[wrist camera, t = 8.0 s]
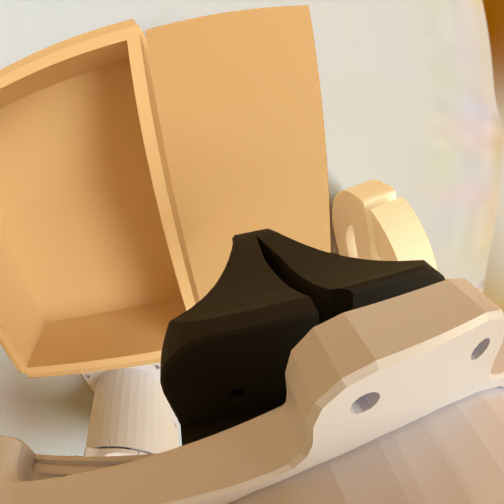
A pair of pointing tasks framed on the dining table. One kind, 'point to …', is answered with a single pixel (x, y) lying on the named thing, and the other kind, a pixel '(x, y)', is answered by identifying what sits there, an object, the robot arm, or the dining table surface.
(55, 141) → the carton
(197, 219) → the carton flap
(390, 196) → the letter
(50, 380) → the dining table surface
